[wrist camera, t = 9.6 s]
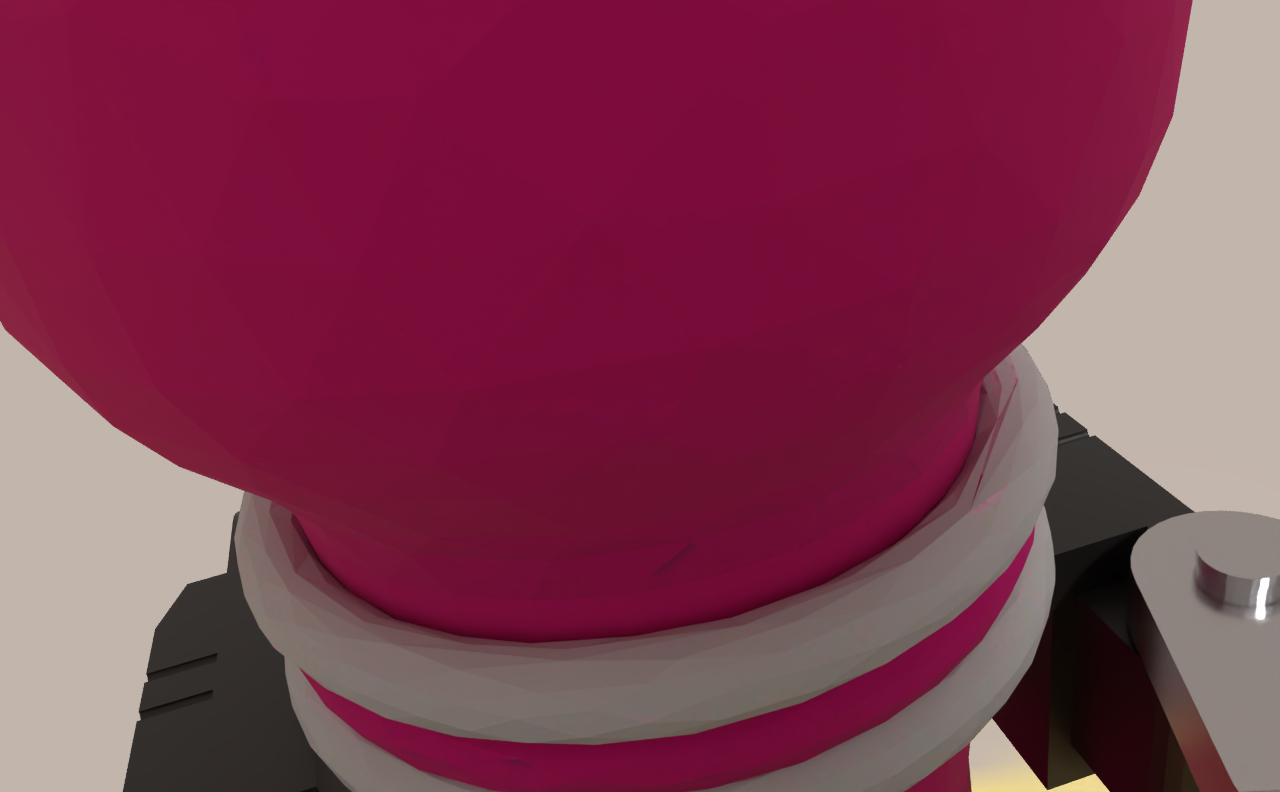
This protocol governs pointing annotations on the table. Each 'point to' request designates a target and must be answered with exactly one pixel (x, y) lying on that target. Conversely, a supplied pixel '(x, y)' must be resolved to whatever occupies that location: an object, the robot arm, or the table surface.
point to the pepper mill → (594, 352)
